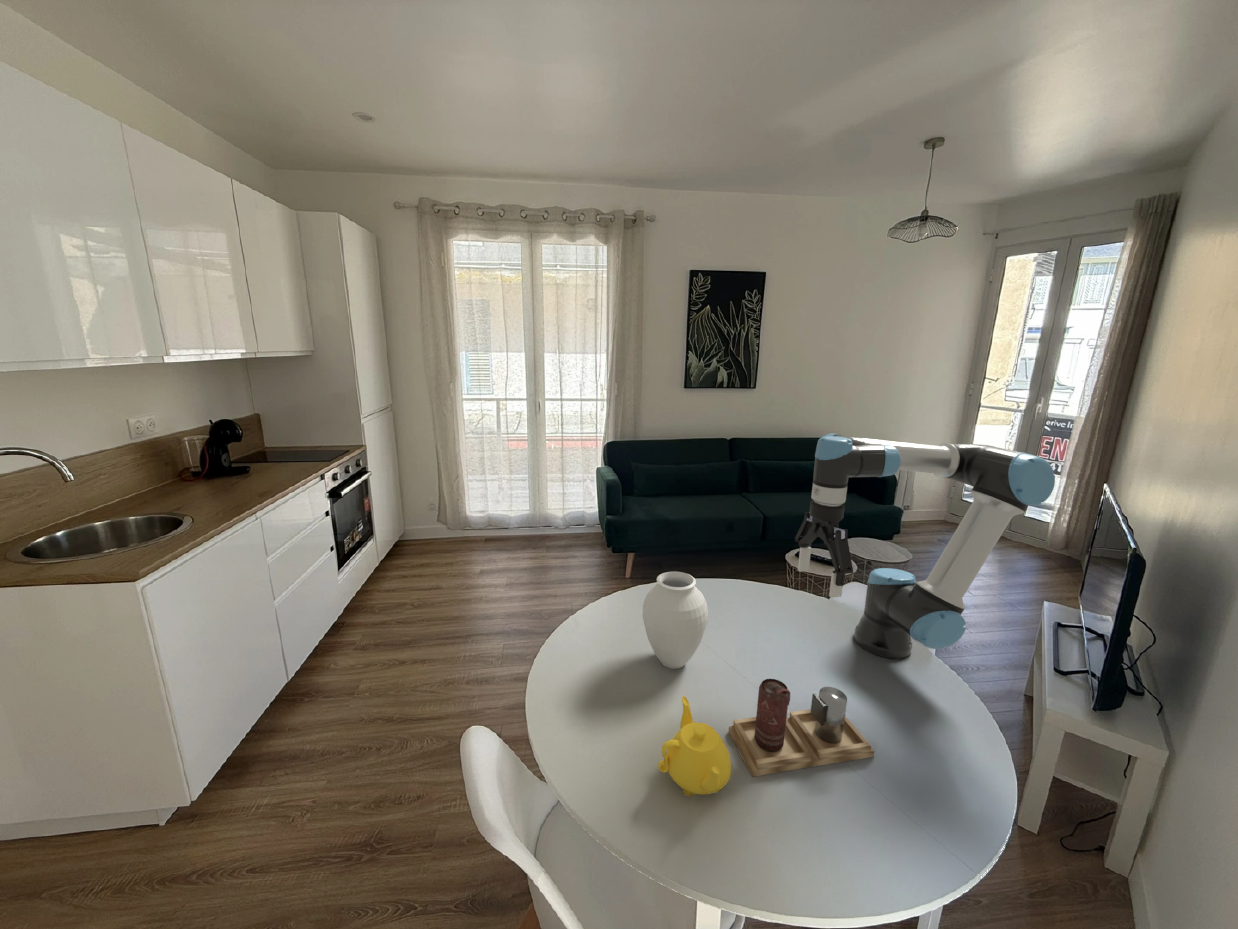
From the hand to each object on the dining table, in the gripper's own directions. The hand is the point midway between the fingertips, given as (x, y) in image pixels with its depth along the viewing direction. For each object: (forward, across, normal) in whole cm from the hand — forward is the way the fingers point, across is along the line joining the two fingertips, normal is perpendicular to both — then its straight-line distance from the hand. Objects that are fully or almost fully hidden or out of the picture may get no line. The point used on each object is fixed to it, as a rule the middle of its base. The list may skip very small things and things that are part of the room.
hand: (818, 583), depth 119 cm
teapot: (+29, +22, -39) cm, 53 cm away
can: (+27, +18, -20) cm, 38 cm away
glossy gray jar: (+27, +18, -6) cm, 33 cm away
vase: (+29, -15, -32) cm, 46 cm away
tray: (+29, +18, -13) cm, 36 cm away
